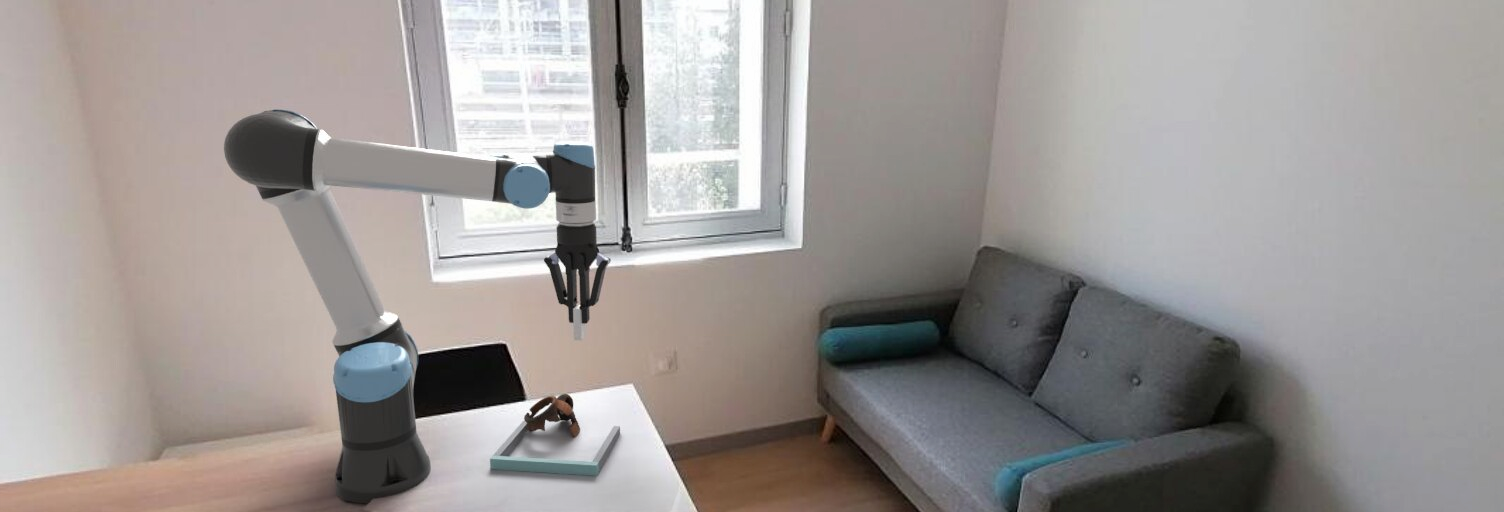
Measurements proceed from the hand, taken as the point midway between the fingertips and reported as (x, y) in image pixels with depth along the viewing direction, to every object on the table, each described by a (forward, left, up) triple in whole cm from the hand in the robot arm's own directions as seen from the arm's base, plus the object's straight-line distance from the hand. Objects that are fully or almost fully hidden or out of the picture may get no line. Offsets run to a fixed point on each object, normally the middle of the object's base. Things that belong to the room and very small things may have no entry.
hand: (579, 337), depth 157 cm
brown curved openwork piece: (-1, -7, -18) cm, 19 cm away
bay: (0, -15, -17) cm, 22 cm away
